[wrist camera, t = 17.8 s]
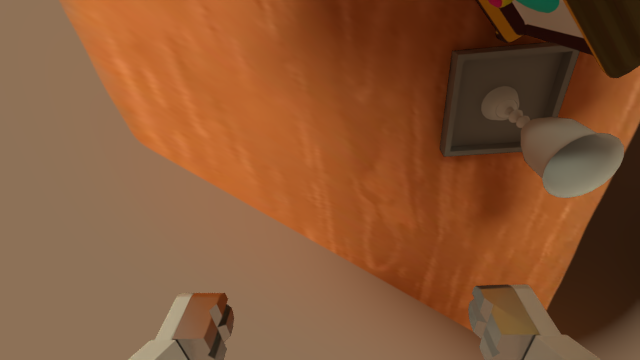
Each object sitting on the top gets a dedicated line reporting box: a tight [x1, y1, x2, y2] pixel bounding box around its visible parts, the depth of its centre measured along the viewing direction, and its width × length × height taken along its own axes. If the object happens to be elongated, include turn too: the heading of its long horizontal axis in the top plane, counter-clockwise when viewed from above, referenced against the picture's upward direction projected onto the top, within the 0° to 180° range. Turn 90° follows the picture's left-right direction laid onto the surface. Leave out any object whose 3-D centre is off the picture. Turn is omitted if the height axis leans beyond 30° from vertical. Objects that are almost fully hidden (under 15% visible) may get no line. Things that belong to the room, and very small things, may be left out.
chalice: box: [481, 86, 624, 198], centre depth 38 cm, size 7×7×18 cm
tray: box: [440, 42, 580, 157], centre depth 45 cm, size 15×15×2 cm
